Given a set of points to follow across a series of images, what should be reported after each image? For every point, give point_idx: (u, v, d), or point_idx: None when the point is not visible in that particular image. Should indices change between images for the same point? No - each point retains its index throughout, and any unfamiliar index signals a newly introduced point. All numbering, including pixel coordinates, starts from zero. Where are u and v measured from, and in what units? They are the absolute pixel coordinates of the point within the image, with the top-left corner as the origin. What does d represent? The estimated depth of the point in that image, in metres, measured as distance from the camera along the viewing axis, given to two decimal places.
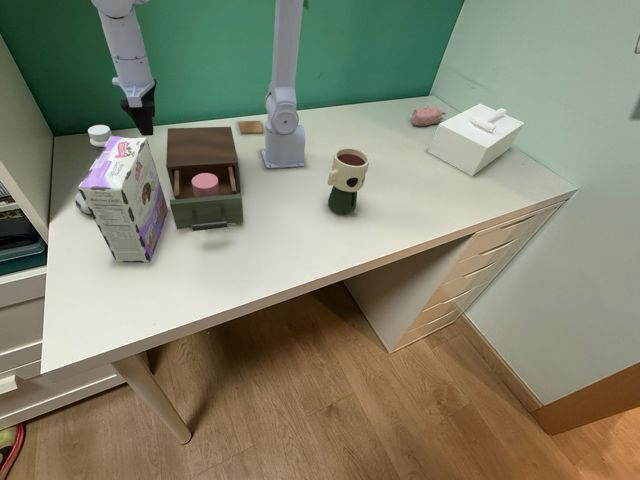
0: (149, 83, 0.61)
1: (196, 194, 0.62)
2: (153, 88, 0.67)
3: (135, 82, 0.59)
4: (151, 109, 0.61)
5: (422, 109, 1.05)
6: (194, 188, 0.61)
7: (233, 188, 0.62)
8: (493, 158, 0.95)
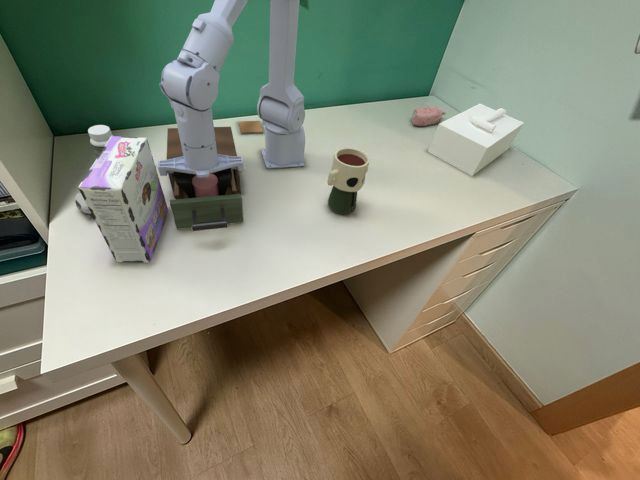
0: None
1: (196, 194, 0.62)
2: None
3: None
4: None
5: (422, 109, 1.05)
6: (194, 188, 0.61)
7: (233, 188, 0.62)
8: (493, 158, 0.95)
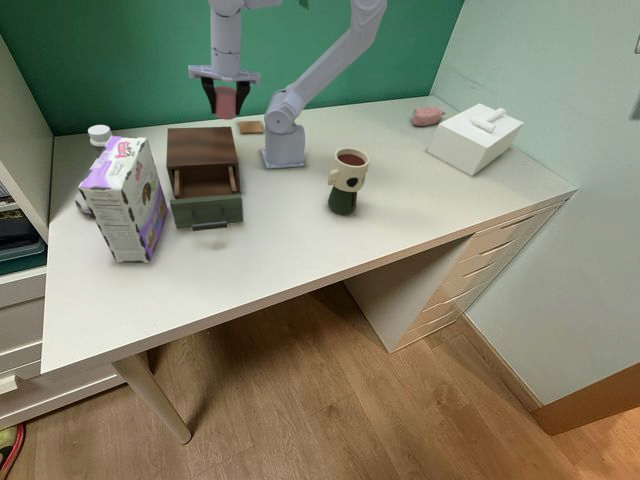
0: None
1: (217, 102, 0.71)
2: None
3: None
4: None
5: (422, 109, 1.05)
6: (216, 96, 0.71)
7: (233, 188, 0.62)
8: (493, 158, 0.95)
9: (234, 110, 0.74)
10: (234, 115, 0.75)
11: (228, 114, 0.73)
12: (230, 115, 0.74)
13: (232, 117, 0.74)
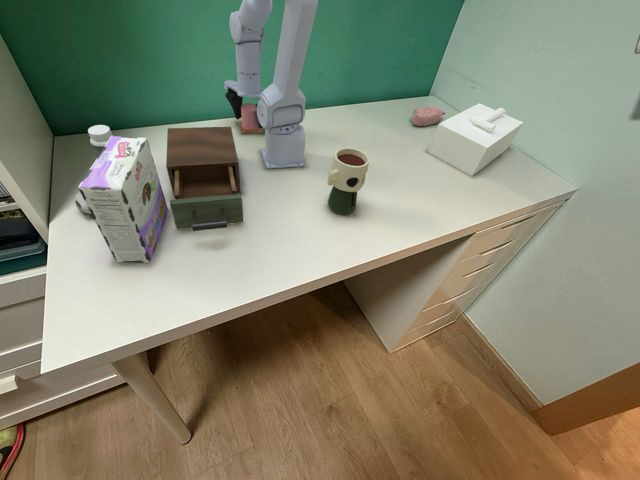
0: None
1: (241, 114, 0.89)
2: None
3: (259, 89, 0.83)
4: None
5: (422, 109, 1.05)
6: (241, 109, 0.88)
7: (233, 188, 0.62)
8: (493, 158, 0.95)
9: (253, 124, 0.89)
10: (253, 128, 0.90)
11: (247, 125, 0.89)
12: (248, 126, 0.89)
13: (250, 129, 0.90)
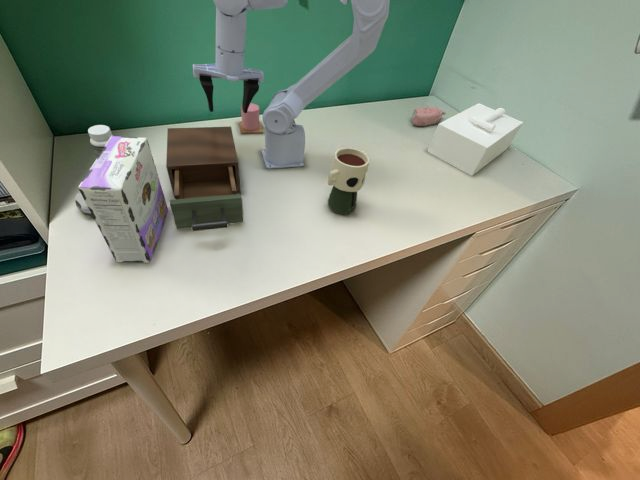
0: None
1: (241, 114, 0.89)
2: None
3: None
4: None
5: (422, 109, 1.05)
6: (241, 109, 0.88)
7: (233, 188, 0.62)
8: (492, 158, 0.95)
9: (253, 124, 0.89)
10: (253, 128, 0.90)
11: (247, 125, 0.89)
12: (248, 126, 0.89)
13: (250, 129, 0.90)
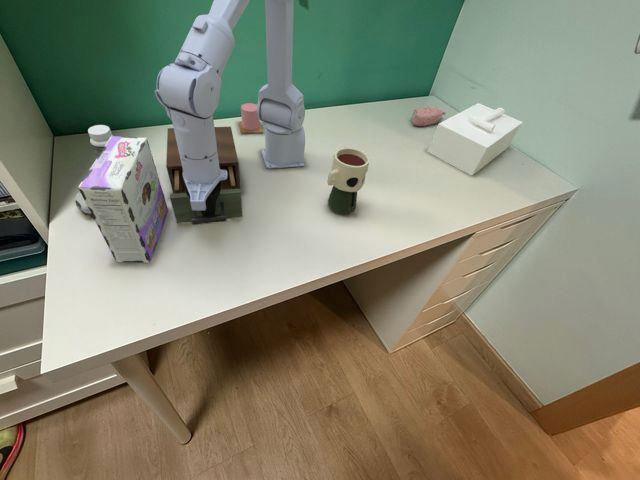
0: None
1: (241, 114, 0.89)
2: None
3: None
4: None
5: (422, 109, 1.05)
6: (241, 109, 0.88)
7: (232, 183, 0.63)
8: (492, 157, 0.95)
9: (253, 124, 0.89)
10: (253, 128, 0.90)
11: (247, 125, 0.89)
12: (248, 126, 0.89)
13: (250, 129, 0.90)
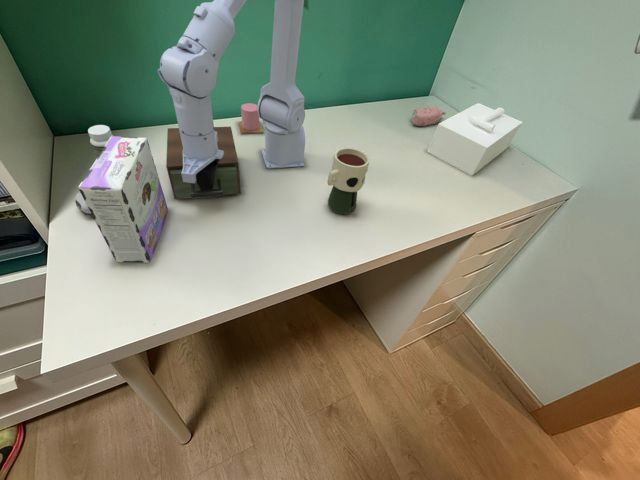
0: None
1: (241, 114, 0.89)
2: None
3: None
4: None
5: (422, 109, 1.05)
6: (241, 109, 0.88)
7: None
8: (492, 157, 0.95)
9: (253, 124, 0.89)
10: (253, 128, 0.90)
11: (247, 125, 0.89)
12: (248, 126, 0.89)
13: (250, 129, 0.90)
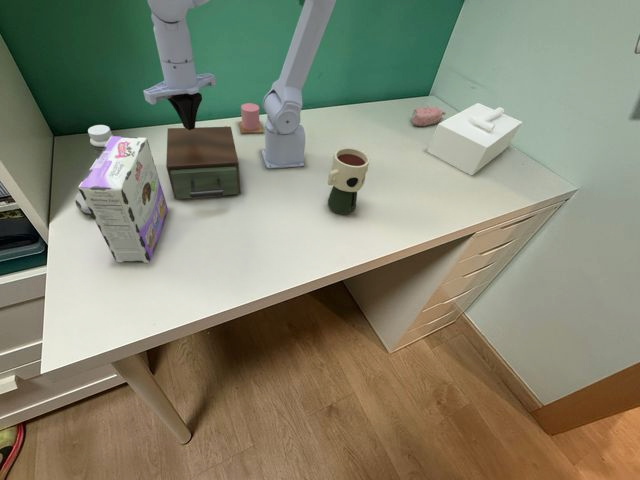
0: None
1: (241, 114, 0.89)
2: None
3: None
4: None
5: (422, 109, 1.05)
6: (241, 109, 0.88)
7: None
8: (492, 157, 0.95)
9: (253, 124, 0.89)
10: (253, 128, 0.90)
11: (247, 125, 0.89)
12: (248, 126, 0.89)
13: (250, 129, 0.90)
